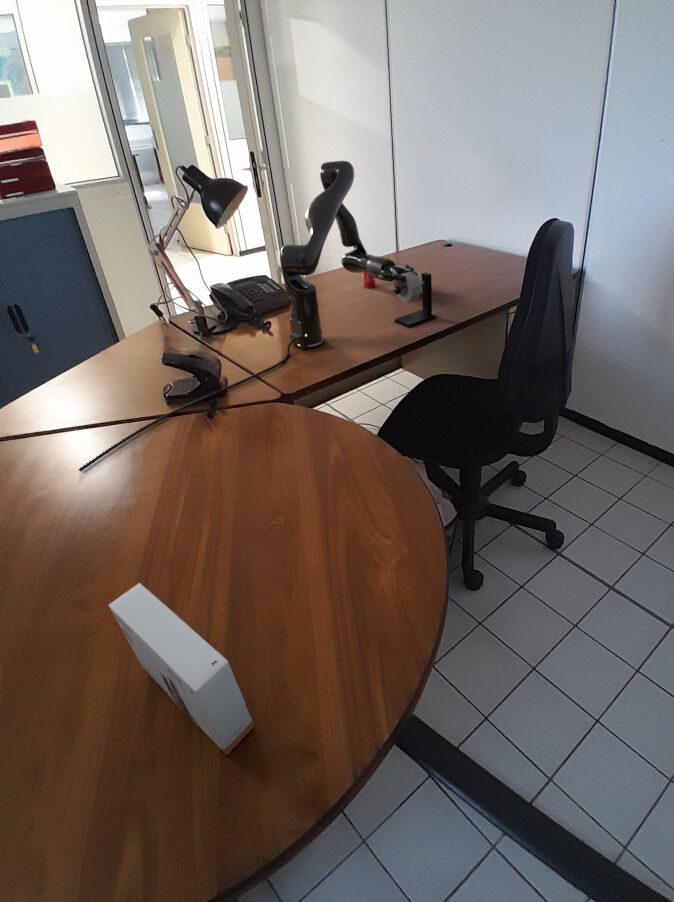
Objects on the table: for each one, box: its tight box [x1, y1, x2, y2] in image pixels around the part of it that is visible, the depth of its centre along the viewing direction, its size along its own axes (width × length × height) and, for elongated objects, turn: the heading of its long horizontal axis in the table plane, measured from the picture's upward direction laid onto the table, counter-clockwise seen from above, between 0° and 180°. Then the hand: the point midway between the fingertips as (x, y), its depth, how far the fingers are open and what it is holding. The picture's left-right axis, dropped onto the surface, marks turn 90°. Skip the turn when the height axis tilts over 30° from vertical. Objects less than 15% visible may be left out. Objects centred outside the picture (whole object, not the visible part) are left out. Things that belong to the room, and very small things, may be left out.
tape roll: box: [393, 272, 422, 303], centre depth 193 cm, size 5×10×10 cm, turn 40°
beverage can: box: [362, 273, 376, 289], centre depth 234 cm, size 5×5×12 cm
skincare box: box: [108, 582, 253, 749], centre depth 75 cm, size 21×5×16 cm, turn 52°
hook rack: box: [393, 272, 437, 329], centre depth 197 cm, size 16×8×16 cm, turn 130°
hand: (410, 277), depth 190 cm, fingers closed on tape roll, 4 cm apart
